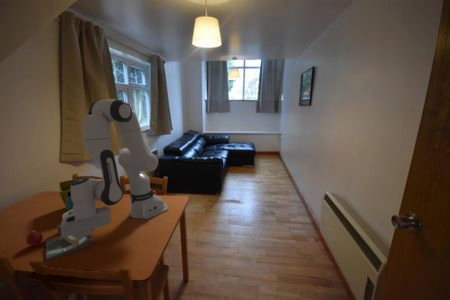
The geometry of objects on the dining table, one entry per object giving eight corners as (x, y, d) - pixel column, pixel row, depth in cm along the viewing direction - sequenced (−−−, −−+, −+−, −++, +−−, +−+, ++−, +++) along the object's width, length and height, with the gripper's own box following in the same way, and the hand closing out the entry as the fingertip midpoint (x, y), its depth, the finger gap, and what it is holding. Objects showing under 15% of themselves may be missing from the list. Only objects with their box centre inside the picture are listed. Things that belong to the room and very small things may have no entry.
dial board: (87, 229, 114) (87, 227, 114) (92, 245, 102) (91, 242, 102) (46, 242, 104) (46, 239, 104) (46, 260, 92) (45, 258, 92)
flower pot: (63, 218, 125) (59, 191, 121) (62, 206, 139) (58, 182, 136) (100, 208, 137) (97, 184, 133) (95, 198, 151) (92, 175, 147)
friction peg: (64, 234, 107) (62, 223, 106) (80, 244, 100) (78, 232, 99) (59, 237, 105) (56, 225, 104) (75, 247, 98) (73, 235, 97)
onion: (25, 247, 100) (21, 232, 98) (39, 240, 105) (36, 225, 103) (32, 250, 98) (29, 235, 96) (46, 243, 103) (43, 228, 101)
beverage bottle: (67, 226, 117) (61, 192, 112) (78, 220, 123) (73, 188, 118) (75, 229, 115) (69, 194, 110) (86, 222, 121) (81, 189, 116)
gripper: (108, 202, 109) (111, 226, 112) (58, 215, 97) (63, 242, 100) (111, 207, 104) (114, 232, 107) (58, 221, 92) (63, 249, 95)
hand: (89, 237), depth 104 cm, fingers closed
